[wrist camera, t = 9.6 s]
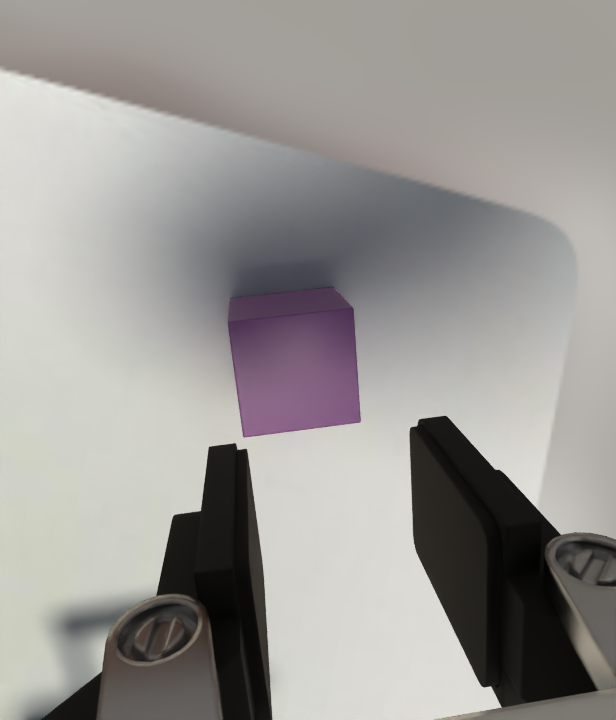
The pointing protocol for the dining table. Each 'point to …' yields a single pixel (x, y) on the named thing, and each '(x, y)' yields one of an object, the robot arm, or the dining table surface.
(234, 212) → the dining table surface
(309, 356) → the cube
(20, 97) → the dining table surface
